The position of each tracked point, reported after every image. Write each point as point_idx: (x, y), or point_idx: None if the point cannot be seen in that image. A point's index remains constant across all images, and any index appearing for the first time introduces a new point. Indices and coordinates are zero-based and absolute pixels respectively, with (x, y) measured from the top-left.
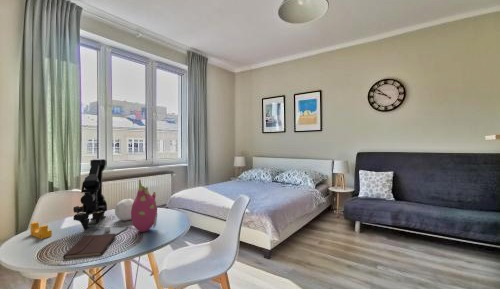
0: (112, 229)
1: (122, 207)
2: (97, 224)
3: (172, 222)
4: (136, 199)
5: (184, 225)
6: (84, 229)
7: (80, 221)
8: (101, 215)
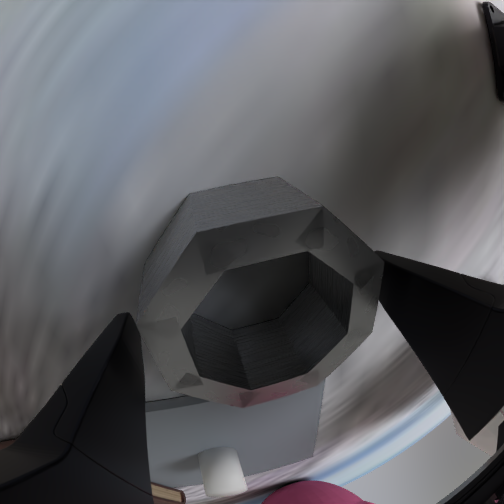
0: (271, 443)
1: (495, 445)
2: (297, 385)
3: (380, 459)
4: None
5: (348, 482)
6: (115, 326)
7: (14, 461)
8: (455, 404)
